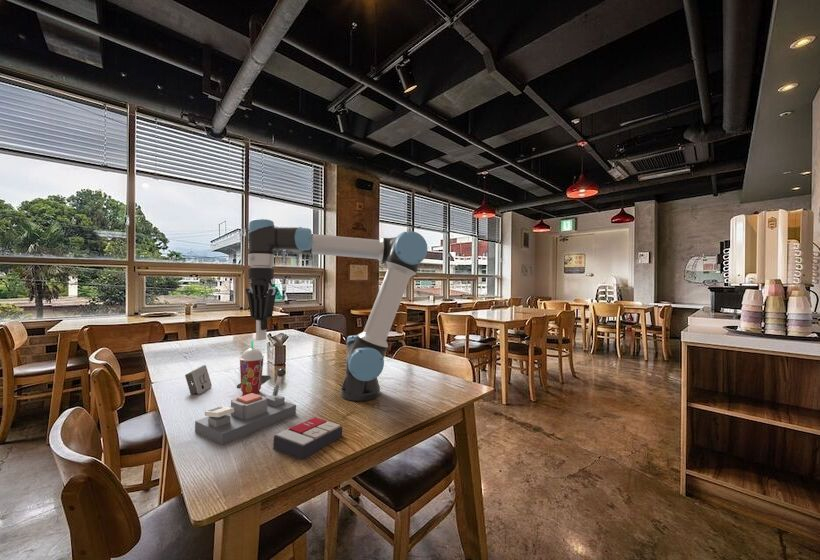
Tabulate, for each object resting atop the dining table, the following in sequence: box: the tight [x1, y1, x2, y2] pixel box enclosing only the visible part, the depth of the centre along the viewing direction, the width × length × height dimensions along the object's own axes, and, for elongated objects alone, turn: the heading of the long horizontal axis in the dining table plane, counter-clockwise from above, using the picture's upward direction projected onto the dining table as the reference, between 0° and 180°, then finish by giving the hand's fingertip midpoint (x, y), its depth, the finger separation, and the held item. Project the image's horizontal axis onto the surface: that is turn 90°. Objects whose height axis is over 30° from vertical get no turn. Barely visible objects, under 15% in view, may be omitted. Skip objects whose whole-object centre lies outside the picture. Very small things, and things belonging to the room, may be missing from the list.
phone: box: [236, 374, 271, 389], centre depth 138 cm, size 8×1×15 cm
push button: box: [236, 393, 263, 404], centre depth 100 cm, size 5×5×4 cm
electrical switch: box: [184, 364, 213, 395], centre depth 126 cm, size 9×5×9 cm, turn 7°
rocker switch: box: [204, 406, 234, 417], centre depth 93 cm, size 4×7×1 cm, turn 59°
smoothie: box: [239, 340, 264, 396], centre depth 125 cm, size 8×8×20 cm
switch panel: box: [194, 393, 297, 446], centre depth 100 cm, size 24×14×7 cm, turn 149°
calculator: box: [272, 417, 343, 461], centre depth 89 cm, size 11×4×15 cm
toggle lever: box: [272, 368, 287, 396], centre depth 107 cm, size 3×3×10 cm
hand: (261, 339), depth 106 cm, fingers closed
